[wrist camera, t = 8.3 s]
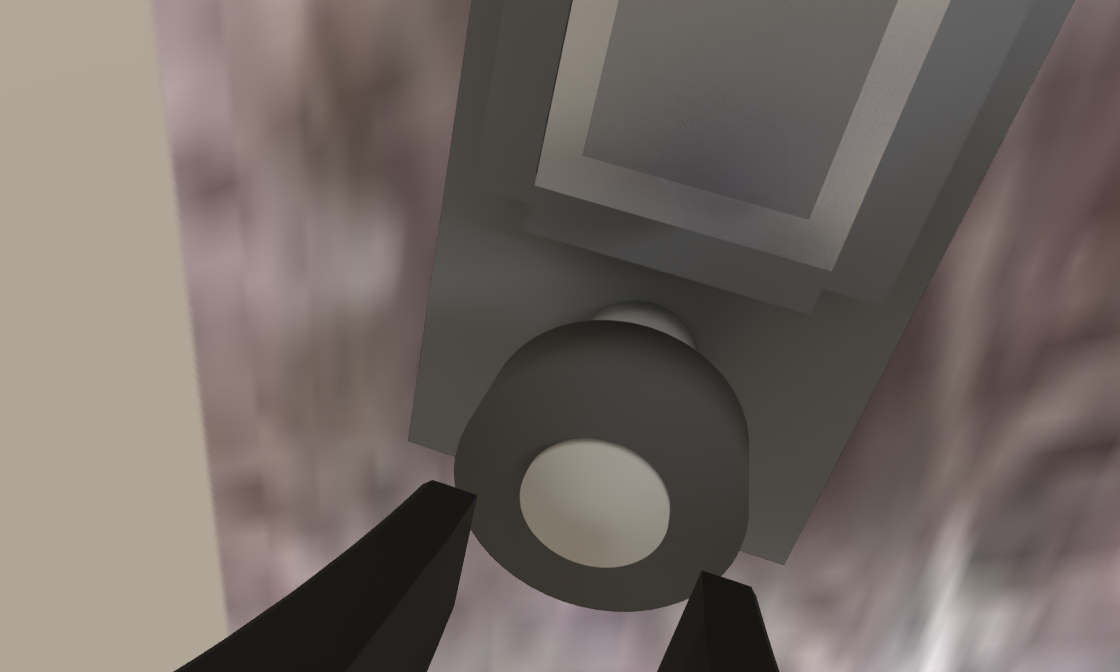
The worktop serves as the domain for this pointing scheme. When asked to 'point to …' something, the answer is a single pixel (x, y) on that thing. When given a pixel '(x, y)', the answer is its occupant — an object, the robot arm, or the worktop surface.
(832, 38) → the grey rectangular block
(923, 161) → the chassis
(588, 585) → the wheel
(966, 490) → the worktop surface
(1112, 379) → the worktop surface
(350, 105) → the worktop surface
